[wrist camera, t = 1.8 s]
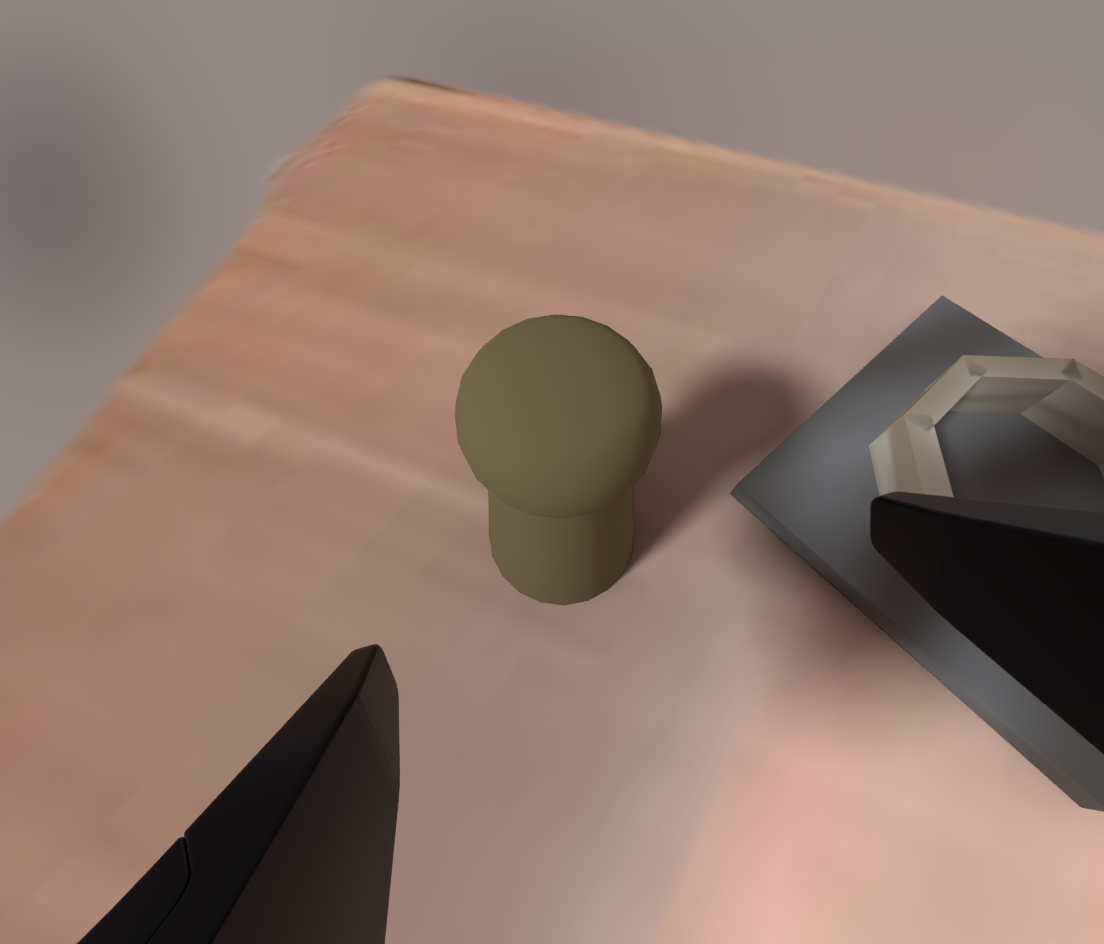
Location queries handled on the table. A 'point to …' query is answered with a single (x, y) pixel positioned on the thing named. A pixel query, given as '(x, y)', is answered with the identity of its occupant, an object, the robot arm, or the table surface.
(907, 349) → the socket
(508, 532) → the cork
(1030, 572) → the robot arm
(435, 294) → the table surface
